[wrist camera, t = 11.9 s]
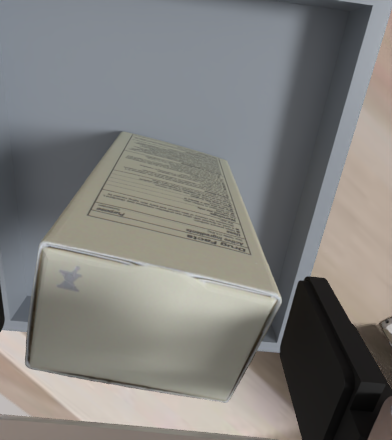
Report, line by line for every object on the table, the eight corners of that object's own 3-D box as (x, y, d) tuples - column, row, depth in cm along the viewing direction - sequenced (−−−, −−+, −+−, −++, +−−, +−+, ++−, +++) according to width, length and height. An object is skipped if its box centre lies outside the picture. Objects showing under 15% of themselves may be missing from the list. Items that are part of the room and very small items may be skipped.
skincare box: (106, 200, 21) (8, 370, 10) (121, 127, 19) (21, 235, 8) (211, 227, 22) (230, 413, 11) (235, 160, 20) (288, 300, 9)
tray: (366, -5, 17) (398, -15, 14) (276, 321, 26) (286, 353, 23) (-23, -60, 16) (-67, -83, 13) (19, 298, 25) (-2, 329, 22)
